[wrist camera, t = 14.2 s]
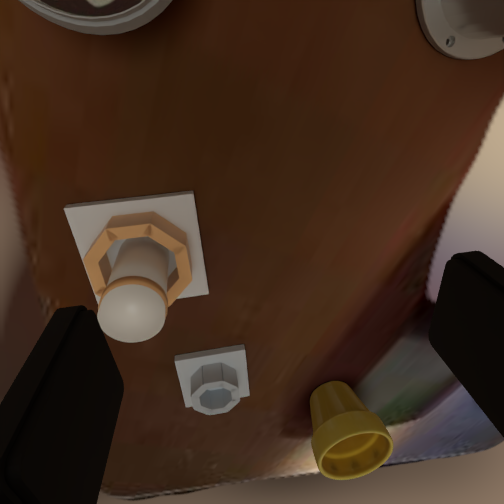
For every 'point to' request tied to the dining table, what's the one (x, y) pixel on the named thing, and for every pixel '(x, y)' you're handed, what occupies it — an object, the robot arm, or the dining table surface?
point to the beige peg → (136, 291)
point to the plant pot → (346, 433)
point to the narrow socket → (213, 378)
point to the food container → (98, 14)
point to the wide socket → (140, 225)
